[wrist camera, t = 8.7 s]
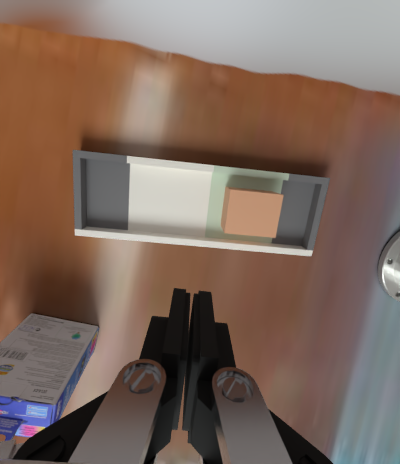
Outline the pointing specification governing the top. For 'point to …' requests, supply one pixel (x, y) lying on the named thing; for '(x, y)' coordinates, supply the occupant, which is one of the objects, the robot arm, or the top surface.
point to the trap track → (187, 203)
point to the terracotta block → (251, 212)
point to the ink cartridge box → (41, 371)
